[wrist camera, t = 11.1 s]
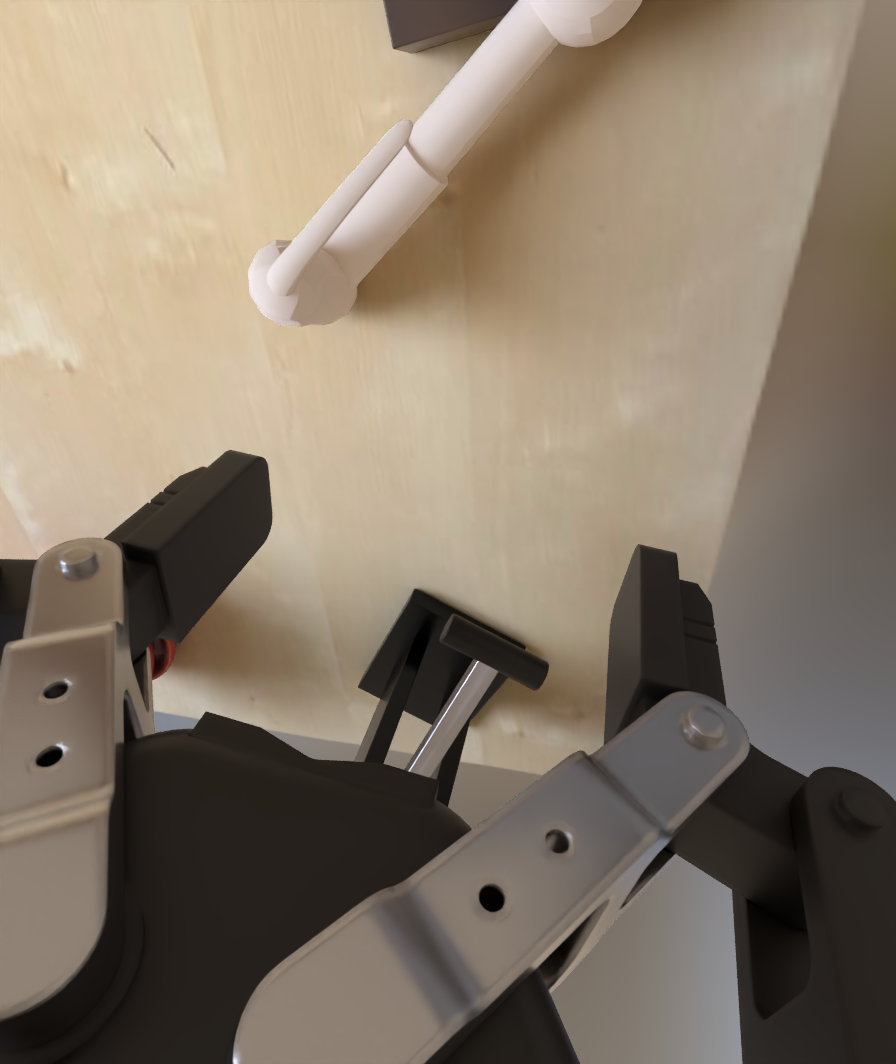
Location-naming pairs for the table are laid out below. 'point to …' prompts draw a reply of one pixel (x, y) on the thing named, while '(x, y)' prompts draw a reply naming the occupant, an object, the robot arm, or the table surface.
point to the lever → (473, 685)
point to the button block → (440, 20)
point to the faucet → (416, 163)
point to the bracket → (419, 682)
